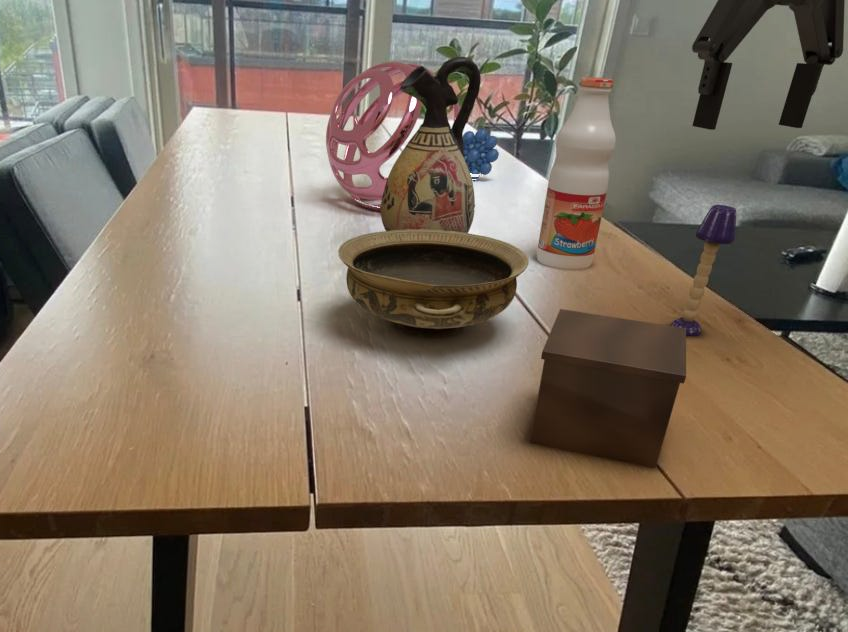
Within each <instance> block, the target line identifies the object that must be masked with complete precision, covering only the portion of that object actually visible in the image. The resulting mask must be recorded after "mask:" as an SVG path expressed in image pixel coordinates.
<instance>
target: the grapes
mask: <svg viewBox="0 0 848 632" xmlns="http://www.w3.org/2000/svg"><path fill="white" fill-rule="evenodd" d="M488 135H489V132H488V131H487V130H486V128H480V129H477V131H476V132H475V133H474V131H472V130H467V131H466V132H463V135H462V137H463V152H464V159H465V162H466V164H467V167H468V170H469V172H470V173H472V174H480V175H482V174H483V175H482V176H486V175H488V174H490V173H491V172H492V167H493V165H492V163H495V162H496V161H497V160H498V158H499V156H500V153H499V150H498V149H497V148H495V147H496V146H497V144H498V138H497V136H495V135H489V136H488ZM471 178H472V179H477V180H478V179H479V178H480V176H479V177H471Z"/></svg>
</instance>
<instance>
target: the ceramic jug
mask: <svg viewBox="0 0 848 632" xmlns="http://www.w3.org/2000/svg"><path fill="white" fill-rule="evenodd" d="M424 67H425V66H423V65H420V66H419V67H418V68H416V69H415V70H413V71H412V72H411V73H410V74H409V75H408V76H407V78H406V77H405V78H404V80H402V81H403V82H402V81H401V82H402V84H401V87H400V90H401V91H402V92H404V93H403V94H406V95H408V96H409V95H411V96H412V97H414V98H416V99H417V100H419V101H421V102H422V105H423V107H425V111H424V112H425V113H424V117H423V121H422V123H421V124H420V125H419V128H417V130H416V131H415V133H414V134H413V135H412V137H411V138H410V140H409V141H408V142H407V143H406V145H405V147H404V148H403V150H401V152H400V153H399V155H398V157H397V158H396V160H395V162H394V163H393V166H392V167H391V169H390V171H389V174H388V177H387V178H388V179H387V182H386V185H385V188H384V192H383V196H382V200H380V204H381V207H380V211H379V212H380V218H381V223H382V225H383V228H384V231H386V232H387V231H392V230H406V229H429V230H443V231H456V232H463V233H469V231H470V230H471V227H472V225H473V222H474V218H475V217H474V216H475V208H476V200H475V198H476V197H475V189H474V188H475V187H474V181H472V178H471V175H470V172H469V170H468V167H467V164H466V162H465V159H464V152H463V135H464V130H465V127H466V125H467V123H468V122H469V119H470V116H471V113H472V110H473V108H474V106H475V103H476V100H477V98H478V96H479V94H480V88H481V78H482V77H481V72H480V69H479V66H478V65H477V63H475V62H474V60H472V59H471V58H469V57H467V56H456V57H452V58H450V59H448V60H445V61H444V62H443V63H442V65H441V66H440V67H439V69H438V71H437V72H436V74H435V75H436V76H435V77H433V76H432V75H431V74H430V73H429V72H428V71H427V70H426V69H425V68H426V67H425V68H424ZM454 73H459V74H463V75H465V76H466V77H467V78H468V82H469V83H468V87H467V90H466V94H465V96H464V99H463V101H462V104H461V106H460V111H459V113H458V115H457V118H456V119H455V121H454V120H453V123H452V125H450V122H449V118H448V114H447V108H448V107H450V106H453V105H455V104H457V103H458V102H459V98H458V96H457V94H456V92H455V90H454V87H453V86H452V84H450V83H449V81H448V77H449V76H450V75H451V74H454Z"/></svg>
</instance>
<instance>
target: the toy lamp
mask: <svg viewBox="0 0 848 632" xmlns="http://www.w3.org/2000/svg"><path fill="white" fill-rule="evenodd" d="M736 223H737V209H736V208H735V207H733V206H729V205H726V204H713V205H712V206H711V207H710V208H709V210H708V211H707V213H706V215H705V216H704V218H703V220H702V222H701V224H700V225H699V227H698V228H697V230H696V232H695V237H696V238H697V239H699V240H700V241H703V242H705V243H704V245H703V252H702V253H701V255H700V260H699V261H700V263H699V264H698V265H697V268H696V274H695V275H694V278H693V280H692V284H693V285H692V286H691V287H690V290H689V294H688V295H689V297H687V300H686V302H685V308H684V310H683V312H682V317H679V318H676V319H674V320H673V321H672V322H671V323H670V324H669V326H674V327H680V328H686V338H693V337H694V338H695V337H699V336H701V335H702V327H701V325H700V323H699V322H698V321H697V320H696V318H697V315H698V310H699V308H700V306H701V303H702V298H703V296H704V295H705V290H706V289H705V288H706V287H707V285H708V282H709V276H710V275H711V272H712V270H713V264H714V263H715V261H716V257H717V252H718V251H719V249H720V246H721V245H730V244H733V243H734V242H735V238H736V228H737V227H736V225H737V224H736Z"/></svg>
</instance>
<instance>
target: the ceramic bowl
mask: <svg viewBox="0 0 848 632" xmlns="http://www.w3.org/2000/svg"><path fill="white" fill-rule="evenodd" d="M337 253H338V258H339V259H340V261H341V262H342V263H343V264H344V265H345V266H346V267H347V270H346V279H345V280H346V287H347V291H348V293H349V294H350V296H351V297H352V299H353V300H354V301H355V302H356V304H357V305H358V306H360V307H361V308H363V309H364V310H365V311H367V312H368V313H370V314H372V315H373V316H376V317H379V318H380V319H383V320H386V321H389V322H392V323H395V324H398V327H399V328H400V329H401V330H402V331H403V332H406V333H408V334H411V335H415V336H419V337H427V338H440V337H441V338H442V337H448V336H452V335H455V334H456V333H458V331H459V328H461V327H467V326H468V327H469V326H473V325H477V324H479V323H480V324H481V323H482V322H485V321H488V320H490V319H492V318H494V317H496V316H497V315H499V314H501V313H502V312H504V311H505V310H506V309H507V308H508V307H509V306H510V305H511V303H512V302H513V300H514V298H515V296H516V292H517V287H518V281H517V278H518V277H519V276H520V275H521V274H522V273H524V272H525V271H526V270H527V268H528V267H529V263H530V262H529V261H530V260H529V257H528V255H527V254H526V253H525V252H524V251H523V250H522V249H521V248H518V247H517V246H515V245H514V244H511V243H509V242H506V241H503V240H500V239H497V238H494V237H489V236H487V235H486V236H485V235H481V234H475V233H469V232H468V233H463V232H456V231H443V230H429V229H406V230H392V231H387V232H386V230H383V231H382V230H381V231H376V232H370V233H366V234H365V233H364V234H360V235H358V236H355V237H352V238H350V239H348V240H346V241H344V242H343V243H342V244H341V245H340V246H339V247H338V251H337Z"/></svg>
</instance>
